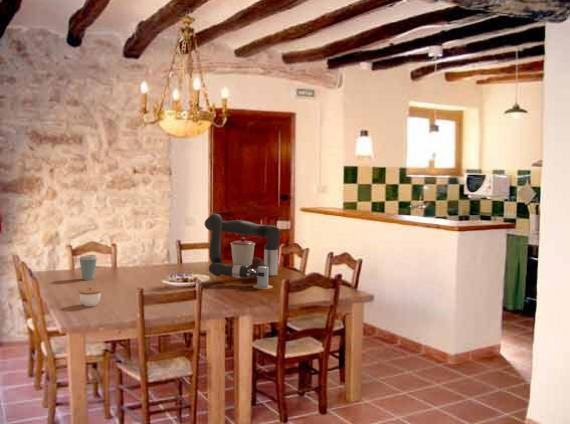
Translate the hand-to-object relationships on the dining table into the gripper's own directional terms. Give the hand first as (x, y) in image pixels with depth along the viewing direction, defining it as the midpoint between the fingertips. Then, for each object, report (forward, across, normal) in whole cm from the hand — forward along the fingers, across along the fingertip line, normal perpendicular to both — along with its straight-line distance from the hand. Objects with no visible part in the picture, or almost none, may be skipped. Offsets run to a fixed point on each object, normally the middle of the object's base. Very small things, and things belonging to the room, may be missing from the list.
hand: (266, 273), depth 362 cm
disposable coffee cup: (-111, -19, +9) cm, 113 cm away
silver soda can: (-2, 0, +8) cm, 9 cm away
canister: (-40, +65, +9) cm, 77 cm away
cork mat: (-2, 0, +9) cm, 9 cm away
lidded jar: (-70, -76, +9) cm, 104 cm away
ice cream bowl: (-12, +20, +9) cm, 25 cm away
